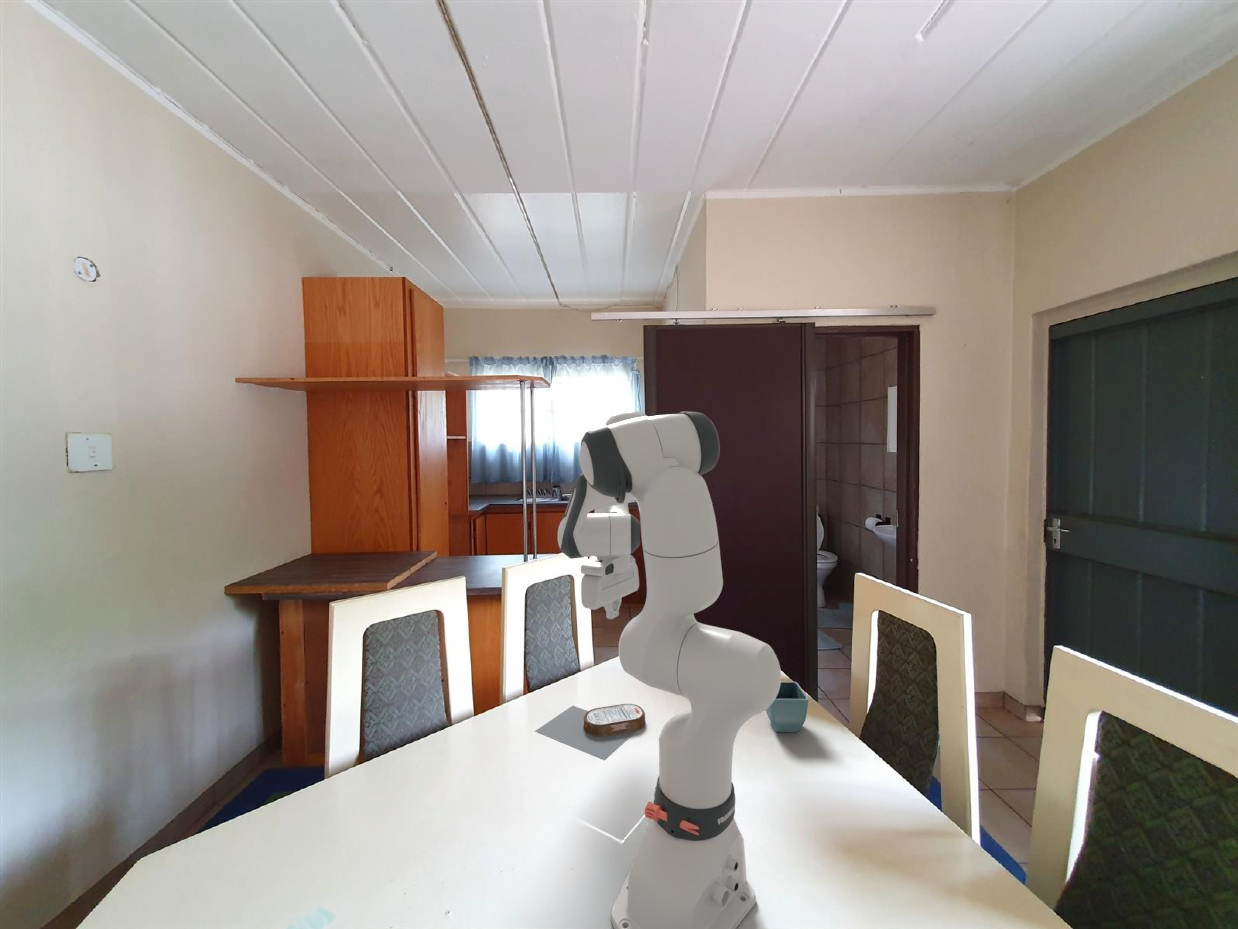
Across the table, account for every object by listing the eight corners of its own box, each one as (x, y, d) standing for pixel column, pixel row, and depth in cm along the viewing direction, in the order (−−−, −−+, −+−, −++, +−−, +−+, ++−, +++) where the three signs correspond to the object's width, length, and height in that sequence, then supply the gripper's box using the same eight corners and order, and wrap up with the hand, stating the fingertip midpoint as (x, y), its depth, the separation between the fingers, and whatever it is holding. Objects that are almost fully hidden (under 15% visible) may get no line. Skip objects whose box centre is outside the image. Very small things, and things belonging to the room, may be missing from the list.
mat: (604, 762, 105) (604, 760, 105) (534, 732, 116) (534, 731, 116) (639, 730, 117) (639, 729, 117) (572, 707, 128) (572, 705, 128)
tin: (580, 720, 121) (587, 742, 113) (580, 708, 121) (588, 729, 112) (638, 710, 125) (650, 731, 117) (638, 698, 125) (650, 718, 117)
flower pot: (809, 738, 113) (809, 699, 113) (770, 737, 114) (770, 699, 113) (796, 717, 122) (796, 681, 122) (760, 717, 122) (760, 681, 122)
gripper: (624, 552, 132) (624, 604, 132) (576, 567, 114) (576, 627, 115) (644, 554, 128) (645, 608, 129) (598, 571, 111) (599, 632, 111)
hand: (612, 617), depth 122 cm, fingers closed
